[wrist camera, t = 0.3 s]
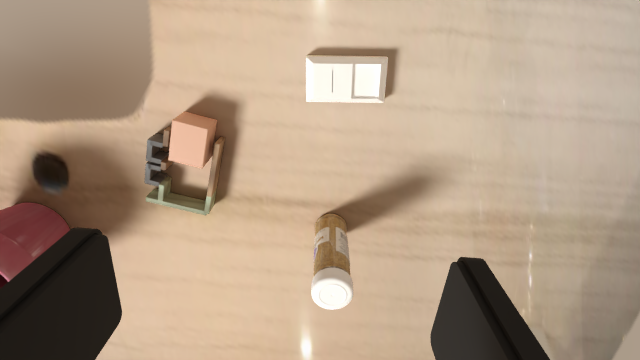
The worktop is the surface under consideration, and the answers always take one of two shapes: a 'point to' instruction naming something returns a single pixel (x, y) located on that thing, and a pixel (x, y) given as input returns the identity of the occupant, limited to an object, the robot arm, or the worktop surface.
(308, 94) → the white flat block
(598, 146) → the worktop surface
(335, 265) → the sprinkles bottle
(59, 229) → the plant pot
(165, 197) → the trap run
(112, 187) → the worktop surface
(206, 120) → the block
